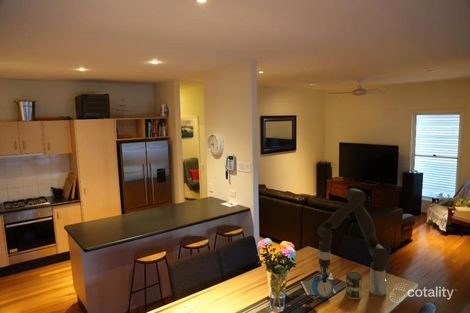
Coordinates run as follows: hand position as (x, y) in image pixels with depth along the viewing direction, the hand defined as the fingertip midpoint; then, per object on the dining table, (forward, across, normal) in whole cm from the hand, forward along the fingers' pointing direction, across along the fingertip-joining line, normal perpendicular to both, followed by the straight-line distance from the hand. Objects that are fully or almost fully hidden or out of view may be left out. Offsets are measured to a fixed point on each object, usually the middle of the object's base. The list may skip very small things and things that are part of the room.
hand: (324, 282), depth 211 cm
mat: (+12, +15, 0) cm, 19 cm away
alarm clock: (+12, +2, 0) cm, 12 cm away
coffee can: (+12, +2, -21) cm, 25 cm away
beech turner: (+12, +31, -15) cm, 37 cm away
